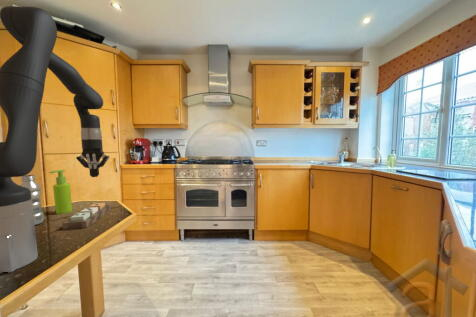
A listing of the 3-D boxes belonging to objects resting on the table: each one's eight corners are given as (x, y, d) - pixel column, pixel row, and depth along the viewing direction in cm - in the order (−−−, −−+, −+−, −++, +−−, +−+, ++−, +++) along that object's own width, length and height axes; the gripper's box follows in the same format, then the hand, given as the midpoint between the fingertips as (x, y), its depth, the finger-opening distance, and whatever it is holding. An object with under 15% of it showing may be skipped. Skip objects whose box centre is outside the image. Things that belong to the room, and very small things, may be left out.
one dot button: (100, 212, 92) (100, 205, 92) (89, 212, 91) (89, 206, 91) (105, 208, 96) (104, 202, 96) (94, 209, 96) (94, 202, 95)
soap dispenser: (50, 214, 93) (45, 171, 91) (66, 209, 100) (62, 168, 98) (59, 215, 91) (54, 171, 90) (75, 210, 98) (71, 169, 96)
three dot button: (92, 217, 86) (92, 210, 85) (81, 218, 85) (80, 211, 85) (98, 213, 90) (97, 206, 90) (87, 214, 89) (86, 207, 89)
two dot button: (84, 223, 79) (83, 216, 79) (71, 224, 79) (70, 216, 78) (90, 219, 84) (89, 211, 83) (78, 220, 83) (77, 212, 83)
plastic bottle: (49, 221, 85) (44, 174, 83) (31, 228, 78) (25, 177, 76) (35, 221, 85) (30, 174, 83) (16, 228, 78) (10, 177, 77)
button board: (86, 227, 78) (86, 221, 78) (63, 229, 77) (62, 223, 76) (111, 209, 99) (110, 204, 98) (92, 210, 97) (92, 205, 97)
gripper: (69, 138, 86) (73, 179, 88) (104, 138, 88) (107, 177, 90) (80, 138, 93) (83, 176, 95) (111, 138, 96) (114, 174, 97)
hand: (94, 176), depth 92 cm, fingers closed
